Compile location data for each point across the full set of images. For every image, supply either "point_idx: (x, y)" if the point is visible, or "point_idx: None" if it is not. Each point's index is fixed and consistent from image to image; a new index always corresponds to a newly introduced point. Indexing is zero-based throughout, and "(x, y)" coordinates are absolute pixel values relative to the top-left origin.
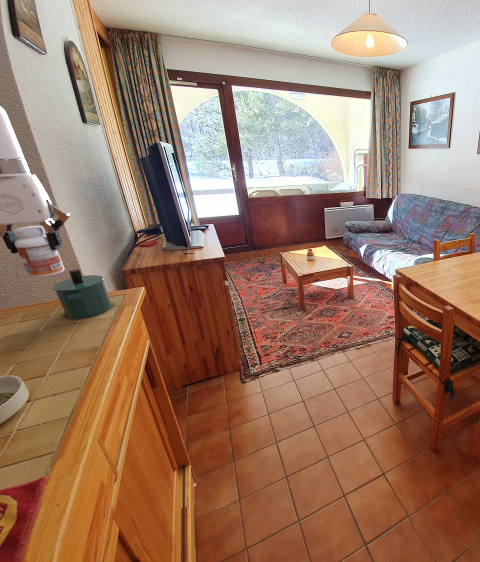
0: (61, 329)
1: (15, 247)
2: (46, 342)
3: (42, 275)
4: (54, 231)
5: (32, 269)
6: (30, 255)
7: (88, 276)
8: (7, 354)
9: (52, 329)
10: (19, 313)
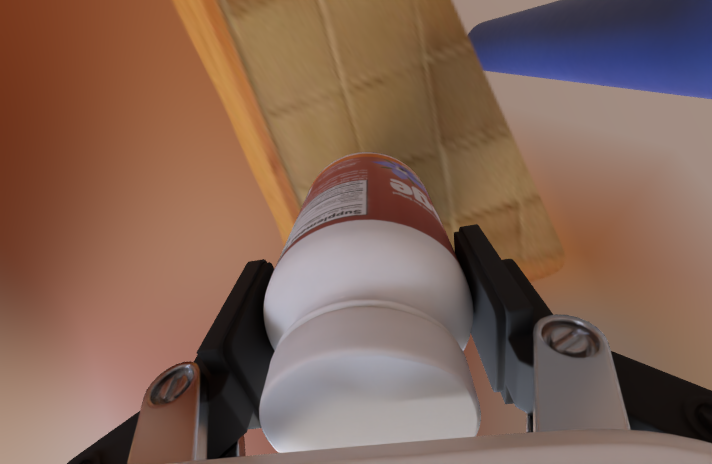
0: (392, 143)
1: (463, 262)
2: (391, 72)
3: (348, 155)
4: (159, 378)
5: (378, 164)
6: (355, 194)
7: None
8: (457, 18)
9: (415, 147)
10: (537, 249)
